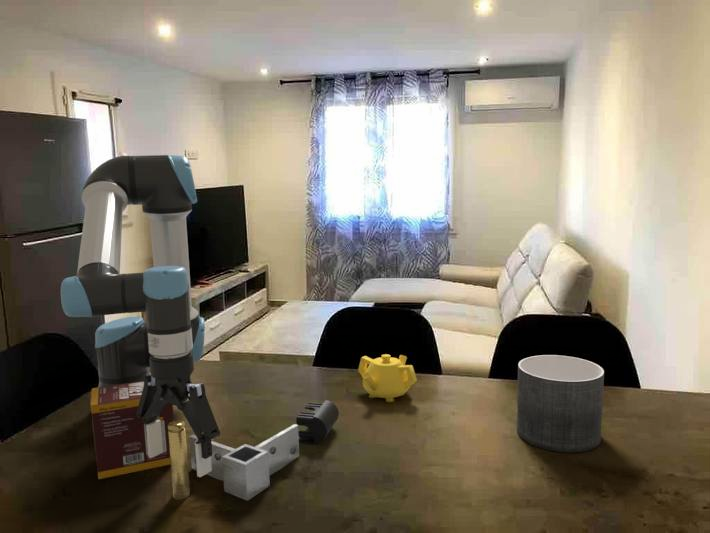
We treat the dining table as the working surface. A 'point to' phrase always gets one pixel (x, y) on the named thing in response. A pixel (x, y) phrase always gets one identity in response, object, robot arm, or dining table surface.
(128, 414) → the supplement box
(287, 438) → the hinge leaves
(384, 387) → the teapot
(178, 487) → the hinge pin
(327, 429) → the end cap
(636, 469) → the dining table surface
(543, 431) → the planter
